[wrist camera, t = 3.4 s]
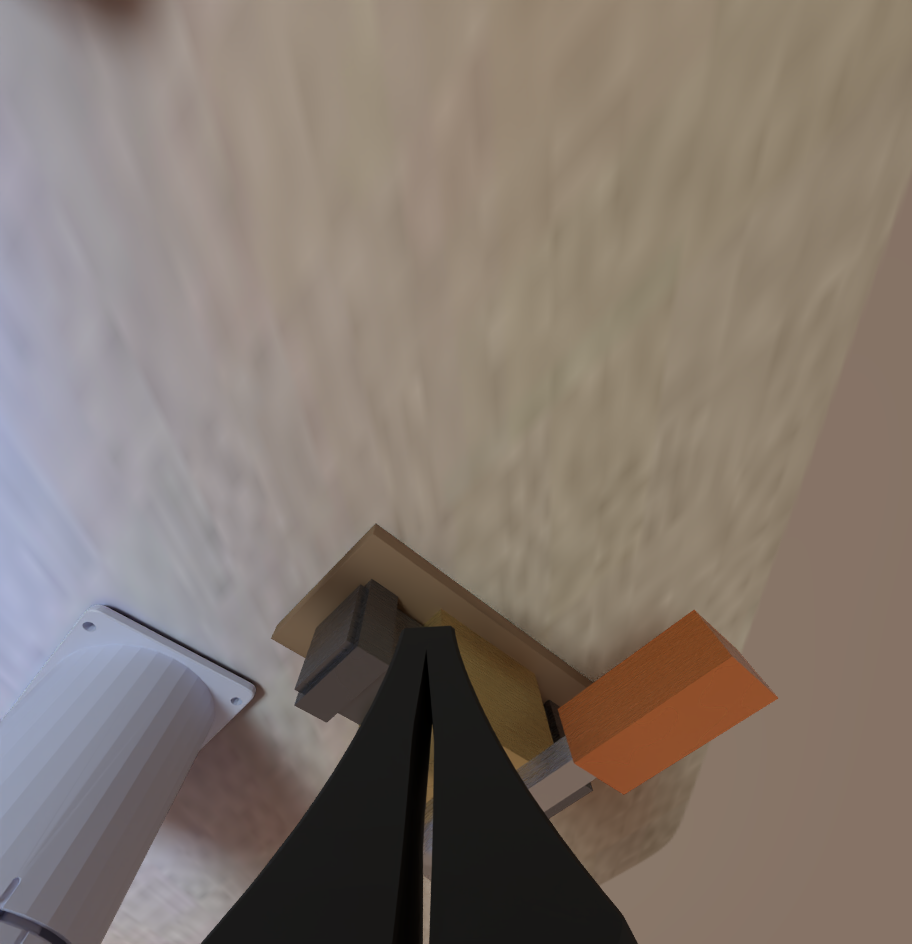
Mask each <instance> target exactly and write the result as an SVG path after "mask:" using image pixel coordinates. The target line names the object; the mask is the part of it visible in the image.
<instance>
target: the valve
mask: <svg viewBox="0 0 912 944" xmlns="http://www.w3.org/2000/svg"><path fill="white" fill-rule="evenodd" d="M397 603H398V596H397V595H395V594H394V593H392V592H391V591H389V590H388V589H386V588H385V587H383V586H382V585H380V584H379V583H378V582H376V581H375V580H373V579H371V580H370V581H369V582H368V583H367V584H366V585H365V586H363V585H361V584H360V585H359V586H358V587H357V588H356V589H355V590H354V591H353V592H352V593H351V594H350V595H349V596H348V597H347V598H346V599H345V600H344V601H343V602H342V603H341V604H340V605H339V606H338V607H337V608H336V609H335V610H334V611H333V612H332V613H331V614H330V615H329V616H328V617H327V618H326V619H324V620H323V621H322V622H321V623H320V624H319V625H318V626H317V627H316V629H315V632H314V635H313V638H312V641H311V644H310V647H309V650H308V652H307V655H306V658H305V661H304V664H303V667H302V670H301V673H300V675H299V678H298V681H297V684H296V687H295V690H297V691H298V692H299V693H298V696H297V699H296V702H295V705H294V706H296V707H298V708H300V709H302V710H304V711H306V712H308V713H310V714H312V715H313V716H315V717H317V718H319V719H321V720H323V721H325V722H328V721H329V720H330V719H331V718H332V717H334V716H335V715H336V714H337V713H339V714H341V715H343V716H344V717H346V718H348V719H350V720H352V721H354V722H356V723H357V724H359V727H360V725H361V723H362V722H363V720H364V718H365V716H366V714H367V712H368V710H369V708H370V707H371V705H372V703H373V701H374V699H375V696H376V694H377V692H378V690H379V688H380V686H381V683H382V681H383V679H384V677H385V675H386V672H387V670H388V667H389V665H390V663H391V660H392V658H393V655H394V652H395V650H396V647H397V644H398V641H399V637H400V633H401V631H402V630H404V629H405V628H418V627H435V626H452V627H453V628H454V629H455V634H456V639H457V643H458V647H459V651H460V654H461V657H462V660H463V663H464V666H465V669H466V671H467V674H468V676H469V679H470V681H471V683H472V686H473V688H474V690H475V693H476V695H477V697H478V700H479V702H480V704H481V706H482V708H483V710H484V712H485V714H486V716H487V718H488V720H489V722H490V724H491V726H492V728H493V730H494V732H495V734H496V736H497V738H498V739H499V741H500V743H501V745H502V747H503V748H504V750H505V752H506V754H507V755H508V757H509V759H510V760H511V762H512V764H513V766H514V767H515V769H516V770H517V769H518V768H520V767H521V766H523V765H524V764H525V763H527V762H528V761H530V760H531V759H533V758H534V757H535V756H537V755H538V754H540V753H541V752H543V751H544V750H545V749H547V748H548V747H550V746H551V745H553V744H554V743H555V742H557V741H558V740H560V739H561V738H563V737H564V736H565V732H564V729H563V725H562V722H561V719H560V715H559V712H558V708H560V706H558V705H557V704H555V703H554V702H552V701H551V700H548V701H546V702H545V703H544V704H543V702H542V698H541V695H540V691H539V687H538V684H537V680H536V676H535V674H534V673H533V672H531V671H530V670H528V669H527V668H525V667H524V666H523V665H521V664H520V663H518V662H517V661H515V660H514V659H513V658H511V657H510V656H508V655H507V654H505V653H504V652H503V651H501V650H500V649H498V648H497V647H495V646H494V645H492V644H491V643H490V642H488V641H487V640H485V639H484V638H482V637H481V636H480V635H478V634H477V633H475V632H474V631H472V630H471V629H470V628H468V627H467V626H465V625H464V624H462V623H461V622H459V621H458V620H457V619H455V618H454V617H452V616H451V615H449V614H448V613H447V612H445V611H444V610H442V609H440V610H439V611H438V612H437V613H436V614H435V615H433V616H432V617H431V618H430V619H429V620H428V621H427V622H426V623H424V624H423V625H421V624H419V623H418V622H417V621H415V620H414V619H412V618H411V617H409V616H408V615H406V614H405V613H403V612H402V611H400V610H399V609H397ZM433 780H434V736H433V725H432V734H431V747H430V760H429V772H428V784H427V797H426V803H427V802H428V801H429V800H430V799H432V798H433ZM591 791H593V789H592V786H591V783H590V782H589V783H588V784H586V785H585V786H583V787H582V788H580V789H579V790H577V791H576V792H574V793H572V794H571V795H569V796H568V797H566V798H565V799H563V800H562V801H560V802H559V803H557V804H556V805H554V806H552V807H551V808H549V809H548V810H546V811H545V812H544V813H545V814H546V816H547V817H548V819H549V818H551V817H552V816H554V815H555V814H557V813H558V812H560V811H562V810H563V809H565V808H566V807H568V806H569V805H571V804H572V803H574V802H576V801H577V800H579V799H580V798H582V797H583V796H585V795H586V794H588V793H590V792H591Z"/></svg>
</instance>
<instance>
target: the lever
mask: <svg viewBox="0 0 912 944" xmlns="http://www.w3.org/2000/svg"><path fill="white" fill-rule="evenodd" d="M776 699H778V697H777V696H776V695H775V693H774V692H773V691H772V690H771V689H770V688H769V686H768V685H767V684H766V683H765V682H764V681H763V679H762V678H761V677H760V676H759V675H758V674H757V672H756V671H755V670H754V669H753V668H752V666H751V665H750V664H749V663H748V662H747V661H746V659H745V658H744V657H743V656H742V655H741V654H740V652H739V651H738V650H737V649H736V648H735V647H734V646H733V645H732V644H731V643H730V642H729V641H727V640H726V639H725V638H724V637H723V636H722V635H721V634H720V633H719V632H718V631H717V630H716V629H714V628H713V627H712V626H711V625H710V624H709V623H708V622H707V621H706V620H705V619H704V618H703V617H701V616H700V615H699V614H698V613H697V612H696V611H695V610H693V611H692V612H690V613H689V614H687V615H686V616H685V617H683V618H682V619H681V620H679V621H678V622H676V623H675V624H674V625H672V626H671V627H670V628H668V629H667V630H666V631H664V632H663V633H661V634H660V635H659V636H657V637H656V638H655V639H653V640H652V641H650V642H649V643H648V644H646V645H645V646H644V647H642V648H641V649H639V650H638V651H637V652H635V653H634V654H633V655H631V656H630V657H628V658H627V659H626V660H624V661H623V662H622V663H620V664H619V665H617V666H616V667H615V668H613V669H612V670H611V671H609V672H608V673H606V674H605V675H604V676H602V677H601V678H600V679H598V680H597V681H595V682H594V683H593V684H591V685H590V686H589V687H587V688H586V689H584V690H583V691H582V692H580V693H579V694H578V695H576V696H575V697H573V698H572V699H571V700H569V701H568V702H567V703H565V704H564V705H562V706H561V707H560V708H558V712H559V715H560V719H561V722H562V725H563V729H564V732H565V736H564V737H563V738H561V739H560V740H558V741H557V742H555V743H554V744H553V745H551V746H550V747H548V748H547V749H545V750H544V751H543V752H541V753H540V754H538V755H537V756H535V757H534V758H533V759H531V760H530V761H528V762H527V763H525V764H524V765H523V766H521V767H520V768H518V769H517V772H518V774H519V775H520V777H521V778H522V780H523V782H524V783H525V785H526V786H527V788H528V790H529V791H530V793H531V794H532V796H533V797H534V798H535V800H536V801H537V803H538V804H539V806H540V807H541V809H542V810H543V811H544V812H545V811H546V810H548V809H549V808H551V807H552V806H554V805H556V804H557V803H559V802H560V801H562V800H563V799H565V798H566V797H568V796H569V795H571V794H572V793H574V792H576V791H577V790H579V789H580V788H582V787H583V786H585V785H586V784H588V783H589V782H591V781H592V780H594V779H595V778H598V779H600V780H601V781H603V782H604V783H606V784H608V785H609V786H611V787H612V788H614V789H615V790H617V791H619V792H620V793H622V794H623V795H624V794H626V793H627V792H629V791H631V790H632V789H634V788H635V787H637V786H639V785H640V784H642V783H643V782H645V781H647V780H648V779H650V778H651V777H653V776H655V775H656V774H658V773H659V772H661V771H663V770H664V769H666V768H667V767H669V766H671V765H672V764H674V763H675V762H677V761H679V760H680V759H682V758H683V757H685V756H687V755H688V754H690V753H691V752H693V751H695V750H696V749H698V748H699V747H701V746H703V745H704V744H706V743H707V742H709V741H711V740H712V739H714V738H715V737H717V736H719V735H720V734H722V733H723V732H725V731H727V730H728V729H730V728H731V727H733V726H735V725H736V724H738V723H739V722H741V721H743V720H744V719H746V718H747V717H749V716H751V715H752V714H754V713H755V712H757V711H759V710H760V709H762V708H763V707H765V706H767V705H768V704H770V703H771V702H773V701H775V700H776ZM432 831H433V798H432V799H430V800H429V801H428V802H427V803H426V809H425V821H424V842H423V874H424V876H425V877H426V878H428V879H429V880H431V872H432Z"/></svg>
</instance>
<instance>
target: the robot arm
mask: <svg viewBox="0 0 912 944" xmlns="http://www.w3.org/2000/svg"><path fill="white" fill-rule="evenodd" d="M255 693H256V688H255V686H254V685H253V684H252V683H250V682H248V681H246V680H244V679H243V678H241V677H239V676H237V675H235V674H233V673H231V672H229V671H227V670H226V669H224V668H222V667H220V666H218V665H216V664H214V663H212V662H210V661H208V660H207V659H205V658H203V657H201V656H199V655H197V654H195V653H193V652H191V651H190V650H188V649H186V648H184V647H182V646H180V645H178V644H176V643H174V642H172V641H171V640H169V639H167V638H165V637H163V636H161V635H159V634H157V633H155V632H154V631H152V630H150V629H148V628H146V627H144V626H142V625H140V624H138V623H137V622H135V621H133V620H131V619H129V618H127V617H125V616H123V615H121V614H119V613H118V612H116V611H114V610H112V609H110V608H108V607H106V606H103V605H93V606H91V607H90V608H89V609H88V610H86V611H85V612H84V613H83V615H82V616H81V617H80V619H79V620H78V621H77V623H76V624H75V625H74V626H73V628H72V629H71V630H70V632H69V633H68V634H67V636H66V637H65V638H64V640H63V641H62V642H61V643H60V645H59V646H58V647H57V649H56V650H55V651H54V653H53V654H52V655H51V657H50V658H49V659H48V661H47V662H46V663H45V664H44V666H43V667H42V668H41V670H40V671H39V672H38V674H37V675H36V676H35V678H34V679H33V680H32V682H31V683H30V684H29V685H28V687H27V688H26V689H25V691H24V692H23V693H22V695H21V696H20V697H19V699H18V700H17V701H16V702H15V704H14V705H13V706H12V708H11V709H10V710H9V712H8V713H7V714H6V716H5V717H4V718H2V719H1V720H0V944H101V943H102V941H103V939H104V937H105V935H106V933H107V931H108V929H109V927H110V925H111V923H112V921H113V919H114V917H115V915H116V913H117V911H118V909H119V907H120V905H121V903H122V901H123V899H124V897H125V895H126V893H127V892H128V890H129V888H130V886H131V884H132V882H133V880H134V878H135V876H136V874H137V872H138V870H139V868H140V866H141V864H142V862H143V860H144V858H145V856H146V854H147V852H148V850H149V848H150V846H151V844H152V842H153V840H154V839H155V837H156V835H157V833H158V831H159V829H160V827H161V825H162V823H163V821H164V819H165V817H166V815H167V813H168V811H169V809H170V807H171V805H172V803H173V801H174V799H175V797H176V795H177V793H178V791H179V789H180V787H181V786H182V784H183V782H184V780H185V778H186V776H187V774H188V772H189V770H190V768H191V766H192V764H193V762H194V760H195V758H196V756H197V754H198V752H199V751H200V750H201V749H202V748H203V747H204V746H205V745H206V744H207V743H208V742H209V741H210V740H211V739H212V738H213V737H214V736H215V735H216V734H217V733H218V732H219V731H220V730H221V729H222V728H223V727H224V726H225V725H226V724H227V723H228V722H229V721H231V720H232V719H233V718H234V717H235V716H236V715H237V714H238V713H239V712H240V711H241V710H242V709H243V708H244V707H245V706H246V705H247V704H248V703H249V702H250V701H251V700H252V699H253V697H254V695H255ZM432 725H433V736H434V780H433V831H432V872H431V906H430V939H429V944H638V943H637V941H636V939H635V937H634V935H633V934H632V931H631V930H630V928H629V926H628V924H627V922H626V920H625V918H624V916H623V915H622V913H621V912H620V911H619V910H618V908H617V907H616V906H615V905H614V904H613V902H612V901H611V900H610V899H609V897H608V896H607V895H606V894H605V893H604V892H603V890H602V889H601V888H600V886H599V885H598V884H597V883H596V881H595V880H594V879H593V878H592V876H591V875H590V874H589V873H588V871H587V870H586V869H585V868H584V866H583V865H582V864H581V862H580V861H579V860H578V859H577V857H576V856H575V855H574V853H573V852H572V851H571V849H570V848H569V847H568V845H567V844H566V843H565V841H564V840H563V839H562V837H561V836H560V835H559V833H558V832H557V830H556V829H555V827H554V826H553V824H552V823H551V822H550V820H549V819H548V817H547V816H546V814H545V813H544V811H543V810H542V809H541V807H540V806H539V804H538V803H537V801H536V800H535V798H534V797H533V796H532V794H531V793H530V791H529V790H528V788H527V786H526V785H525V783H524V782H523V780H522V778H521V777H520V775H519V774H518V772H517V770H516V769H515V767H514V766H513V764H512V762H511V760H510V759H509V757H508V755H507V754H506V752H505V750H504V748H503V747H502V745H501V743H500V741H499V739H498V738H497V736H496V734H495V732H494V730H493V728H492V726H491V724H490V722H489V720H488V718H487V716H486V714H485V712H484V710H483V708H482V706H481V704H480V702H479V700H478V697H477V695H476V693H475V690H474V688H473V686H472V683H471V681H470V679H469V676H468V674H467V671H466V669H465V666H464V663H463V660H462V657H461V654H460V651H459V647H458V643H457V639H456V634H455V629H454V628H453V627H452V626H435V627H418V628H405V629H404V630H402V631H401V633H400V637H399V641H398V644H397V647H396V650H395V652H394V655H393V658H392V660H391V663H390V665H389V667H388V670H387V672H386V675H385V677H384V679H383V681H382V683H381V686H380V688H379V690H378V692H377V694H376V696H375V699H374V701H373V703H372V705H371V707H370V708H369V710H368V712H367V714H366V716H365V718H364V720H363V722H362V723H361V725H360V727H359V729H358V731H357V733H356V735H355V737H354V738H353V740H352V742H351V743H350V745H349V747H348V749H347V750H346V752H345V754H344V755H343V757H342V759H341V760H340V762H339V764H338V765H337V767H336V768H335V770H334V772H333V773H332V775H331V776H330V778H329V779H328V781H327V782H326V784H325V785H324V787H323V788H322V790H321V791H320V793H319V794H318V796H317V797H316V799H315V800H314V802H313V803H312V805H311V806H310V808H309V809H308V810H307V812H306V813H305V815H304V816H303V817H302V819H301V820H300V822H299V823H298V824H297V826H296V827H295V829H294V830H293V831H292V833H291V834H290V835H289V836H288V838H287V839H286V840H285V842H284V843H283V844H282V846H281V847H280V848H279V849H278V851H277V852H276V853H275V855H274V856H273V857H272V859H271V860H270V861H269V862H268V864H267V865H266V866H265V868H264V869H263V870H262V872H261V873H260V874H259V875H258V877H257V878H256V879H255V880H254V882H253V883H252V884H251V885H250V886H249V888H248V889H247V890H246V891H245V893H244V894H243V895H242V896H241V897H240V898H239V900H238V901H237V902H236V903H235V904H234V905H233V907H232V908H231V909H230V910H229V911H228V912H227V914H226V915H225V916H224V917H223V918H222V919H221V921H220V922H219V923H218V924H217V925H216V926H215V928H214V929H213V930H212V931H211V932H210V933H209V935H208V936H207V937H206V938H205V939H204V940H203V942H202V943H201V944H423V842H424V821H425V809H426V797H427V784H428V772H429V760H430V747H431V734H432Z"/></svg>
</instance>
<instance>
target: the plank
mask: <svg viewBox="0 0 912 944" xmlns="http://www.w3.org/2000/svg"><path fill="white" fill-rule="evenodd" d="M371 579H373V580H375V581H376V582H378V583H379V584H380V585H382V586H383V587H385V588H386V589H388V590H389V591H391V592H392V593H394V594H395V595H397V596H398V603H397V609H399V610H400V611H402V612H403V613H405V614H406V615H408V616H409V617H411V618H412V619H414V620H415V621H417V622H418V623H419V624H421V625H423V624H424V623H426V622H427V621H428V620H429V619H430V618H431V617H432V616H433V615H435V614H436V613H437V612H438V611H439V610H440V609H442V610H444V611H445V612H447V613H448V614H449V615H451V616H452V617H454V618H455V619H457V620H458V621H459V622H461V623H462V624H464V625H465V626H467V627H468V628H470V629H471V630H472V631H474V632H475V633H477V634H478V635H480V636H481V637H482V638H484V639H485V640H487V641H488V642H490V643H491V644H492V645H494V646H495V647H497V648H498V649H500V650H501V651H503V652H504V653H505V654H507V655H508V656H510V657H511V658H513V659H514V660H515V661H517V662H518V663H520V664H521V665H523V666H524V667H525V668H527V669H528V670H530V671H531V672H533V673H534V674H535V676H536V680H537V684H538V687H539V691H540V695H541V698H542V702H543V704H544V703H545V702H546V701H548V700H551V701H552V702H554V703H555V704H557V705H558V706H560V707H561V706H562V705H564V704H565V703H567V702H568V701H569V700H571V699H572V698H573V697H575V696H576V695H578V694H579V693H580V692H582V691H583V690H584V689H586V688H587V687H589V686H590V685H591V684H593V683H592V682H591V681H590V680H588V679H587V678H586V677H584V676H583V675H581V674H580V673H579V672H577V671H576V670H575V669H573V668H572V667H571V666H569V665H568V664H566V663H565V662H564V661H562V660H561V659H560V658H558V657H557V656H556V655H554V654H553V653H551V652H550V651H549V650H547V649H546V648H545V647H543V646H542V645H541V644H539V643H538V642H536V641H535V640H534V639H532V638H531V637H530V636H528V635H527V634H526V633H524V632H523V631H521V630H520V629H519V628H517V627H516V626H515V625H513V624H512V623H511V622H509V621H508V620H506V619H505V618H504V617H502V616H501V615H500V614H498V613H497V612H496V611H494V610H493V609H492V608H490V607H489V606H487V605H486V604H485V603H483V602H482V601H481V600H479V599H478V598H477V597H475V596H474V595H472V594H471V593H470V592H468V591H467V590H466V589H464V588H463V587H462V586H460V585H459V584H457V583H456V582H455V581H453V580H452V579H451V578H449V577H448V576H447V575H445V574H444V573H442V572H441V571H440V570H438V569H437V568H436V567H434V566H433V565H432V564H430V563H429V562H427V561H426V560H425V559H423V558H422V557H421V556H419V555H418V554H417V553H415V552H414V551H412V550H411V549H410V548H408V547H407V546H406V545H404V544H403V543H402V542H400V541H399V540H397V539H396V538H395V537H393V536H392V535H391V534H389V533H388V532H387V531H385V530H384V529H382V528H381V527H380V526H378V525H377V524H375V525H374V526H373V527H372V528H371V529H370V530H369V531H368V532H367V533H366V534H365V535H364V536H363V537H362V538H361V539H360V540H359V541H358V542H357V543H356V544H355V546H354V547H353V548H352V549H351V550H350V551H349V552H348V553H347V554H346V555H345V556H344V557H343V558H342V559H341V560H340V561H339V562H338V563H337V564H336V565H335V566H334V567H333V568H332V569H331V570H330V571H329V572H328V573H327V574H326V575H325V576H324V577H323V578H322V580H321V581H320V582H319V583H318V584H317V585H316V586H315V587H314V588H313V589H312V590H311V591H310V592H309V593H308V594H307V595H306V596H305V597H304V598H303V599H302V600H301V601H300V602H299V603H298V604H297V605H296V606H295V607H294V608H293V609H292V610H291V611H290V613H289V614H288V615H287V616H286V617H285V618H284V619H283V620H282V621H281V622H280V623H279V624H278V625H277V627H276V629H275V631H274V633H273V635H272V638H271V639H273V640H275V641H276V642H278V643H280V644H282V645H283V646H285V647H287V648H289V649H290V650H292V651H294V652H296V653H297V654H299V655H301V656H303V657H304V658H306V655H307V652H308V650H309V647H310V644H311V641H312V638H313V635H314V632H315V629H316V627H317V626H318V625H319V624H320V623H321V622H322V621H323V620H324V619H326V618H327V617H328V616H329V615H330V614H331V613H332V612H333V611H334V610H335V609H336V608H337V607H338V606H339V605H340V604H341V603H342V602H343V601H344V600H345V599H346V598H347V597H348V596H349V595H350V594H351V593H352V592H353V591H354V590H355V589H356V588H357V587H358V586H359V585H360V584H361V585H363V586H365V585H366V584H367V583H368V582H369V581H370V580H371Z"/></svg>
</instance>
